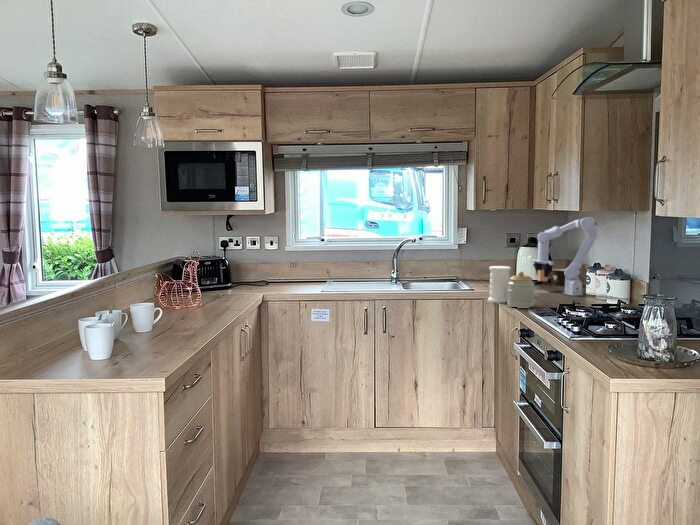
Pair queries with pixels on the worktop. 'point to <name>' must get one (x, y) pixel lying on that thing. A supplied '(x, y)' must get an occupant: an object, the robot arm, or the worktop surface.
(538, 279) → the pot terracotta
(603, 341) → the worktop surface
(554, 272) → the coffee mug
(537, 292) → the coaster
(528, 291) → the jar
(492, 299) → the decorative container
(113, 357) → the worktop surface
